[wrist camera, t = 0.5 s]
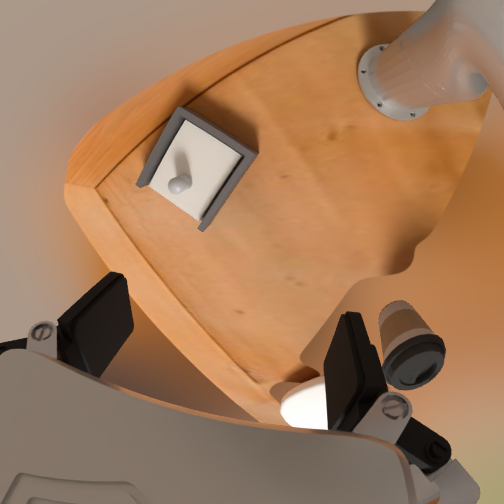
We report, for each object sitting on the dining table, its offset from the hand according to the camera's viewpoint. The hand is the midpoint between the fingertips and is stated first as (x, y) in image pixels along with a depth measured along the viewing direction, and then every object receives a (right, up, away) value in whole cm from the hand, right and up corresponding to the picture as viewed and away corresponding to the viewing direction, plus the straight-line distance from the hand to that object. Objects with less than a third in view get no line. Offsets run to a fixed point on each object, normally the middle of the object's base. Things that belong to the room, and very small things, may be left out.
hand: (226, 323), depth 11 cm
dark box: (-7, +16, +29) cm, 34 cm away
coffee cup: (+28, -9, +35) cm, 46 cm away
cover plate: (-8, +15, +28) cm, 33 cm away
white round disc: (+22, -33, +47) cm, 62 cm away
